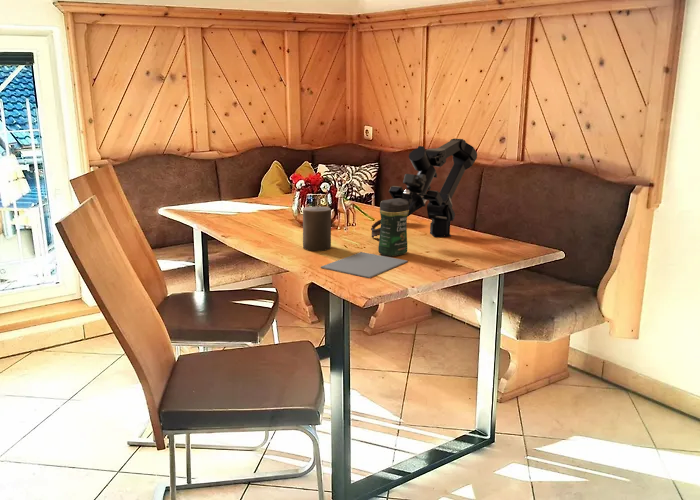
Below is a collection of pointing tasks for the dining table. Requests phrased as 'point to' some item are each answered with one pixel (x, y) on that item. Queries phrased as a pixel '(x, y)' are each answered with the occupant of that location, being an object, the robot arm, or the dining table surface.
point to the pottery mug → (375, 231)
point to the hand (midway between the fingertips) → (406, 215)
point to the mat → (364, 264)
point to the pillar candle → (317, 228)
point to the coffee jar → (393, 227)
